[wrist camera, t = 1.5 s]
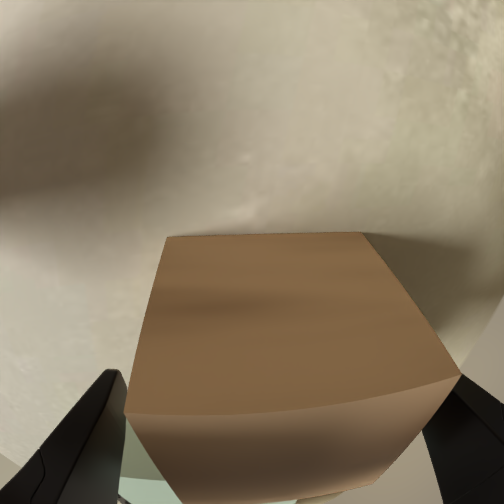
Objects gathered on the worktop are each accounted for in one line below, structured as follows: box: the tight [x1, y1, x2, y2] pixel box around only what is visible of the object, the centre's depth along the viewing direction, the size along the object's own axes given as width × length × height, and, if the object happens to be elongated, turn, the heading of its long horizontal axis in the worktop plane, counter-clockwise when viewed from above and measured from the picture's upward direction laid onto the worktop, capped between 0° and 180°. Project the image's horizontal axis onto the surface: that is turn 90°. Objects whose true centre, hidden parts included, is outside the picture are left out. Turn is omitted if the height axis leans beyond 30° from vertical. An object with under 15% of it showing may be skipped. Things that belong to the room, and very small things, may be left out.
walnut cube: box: [123, 232, 462, 504], centre depth 9 cm, size 6×6×6 cm
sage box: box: [118, 418, 297, 504], centre depth 15 cm, size 10×10×4 cm
